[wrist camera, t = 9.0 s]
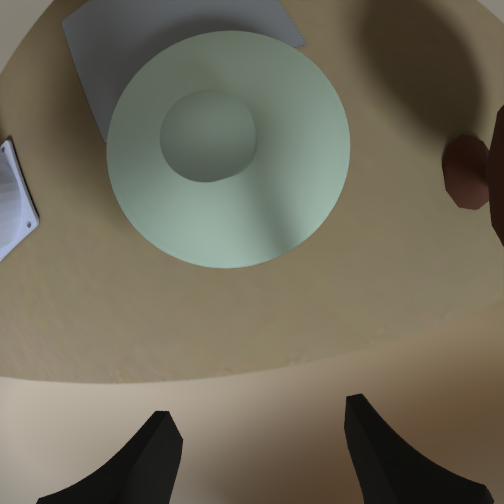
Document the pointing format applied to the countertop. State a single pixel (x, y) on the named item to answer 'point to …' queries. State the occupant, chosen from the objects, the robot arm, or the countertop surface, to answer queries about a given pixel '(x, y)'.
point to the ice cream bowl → (478, 173)
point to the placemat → (154, 38)
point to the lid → (228, 149)
